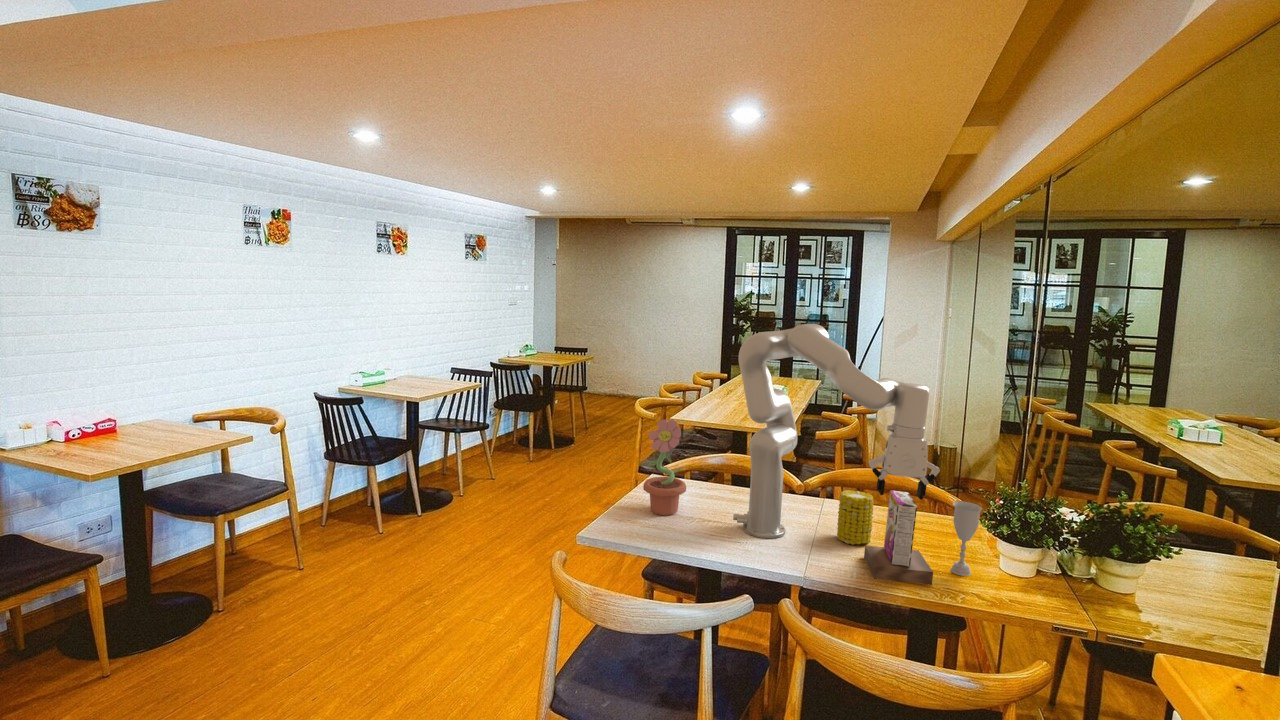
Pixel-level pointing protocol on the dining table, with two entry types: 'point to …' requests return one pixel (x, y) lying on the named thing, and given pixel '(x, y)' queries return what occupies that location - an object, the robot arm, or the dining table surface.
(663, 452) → the decorative flower
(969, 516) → the chalice
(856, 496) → the food
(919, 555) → the walnut block
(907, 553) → the candy bar box
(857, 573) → the dining table surface
